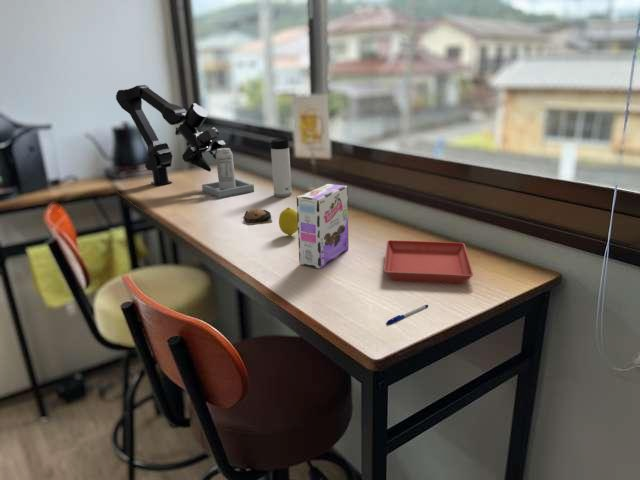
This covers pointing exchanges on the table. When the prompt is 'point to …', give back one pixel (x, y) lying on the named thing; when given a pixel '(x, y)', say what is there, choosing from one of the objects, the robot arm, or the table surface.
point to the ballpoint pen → (405, 315)
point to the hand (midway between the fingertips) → (218, 168)
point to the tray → (239, 189)
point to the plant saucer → (427, 261)
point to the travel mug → (281, 167)
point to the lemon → (288, 221)
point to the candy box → (322, 225)
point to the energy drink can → (225, 168)
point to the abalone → (257, 217)
